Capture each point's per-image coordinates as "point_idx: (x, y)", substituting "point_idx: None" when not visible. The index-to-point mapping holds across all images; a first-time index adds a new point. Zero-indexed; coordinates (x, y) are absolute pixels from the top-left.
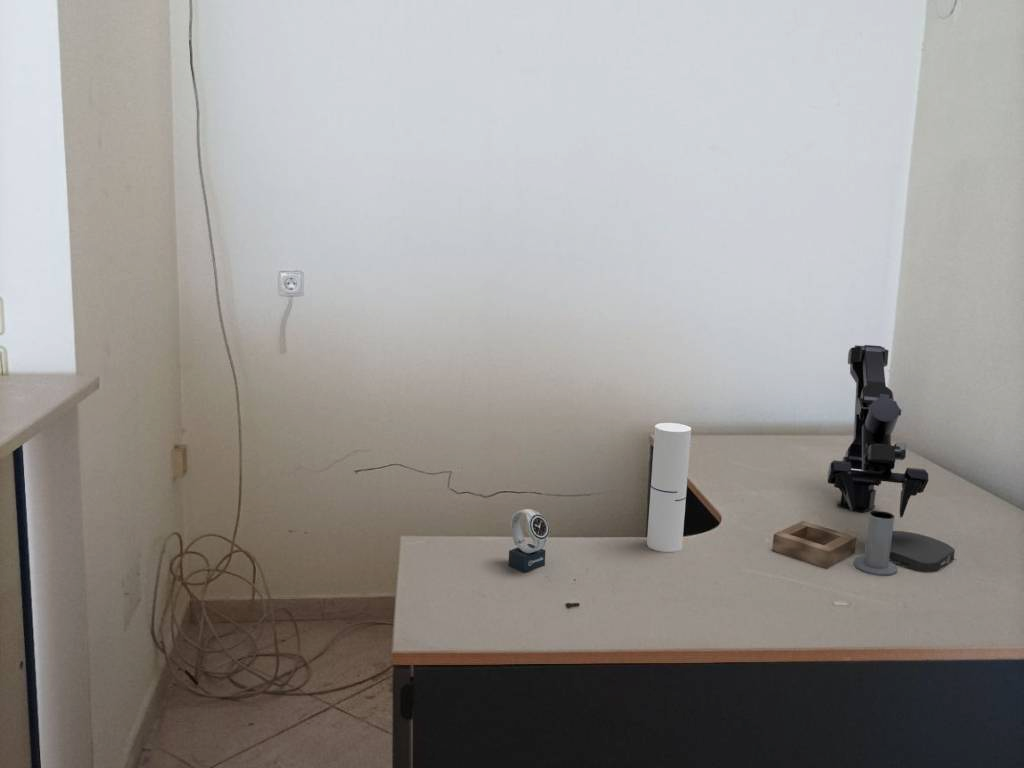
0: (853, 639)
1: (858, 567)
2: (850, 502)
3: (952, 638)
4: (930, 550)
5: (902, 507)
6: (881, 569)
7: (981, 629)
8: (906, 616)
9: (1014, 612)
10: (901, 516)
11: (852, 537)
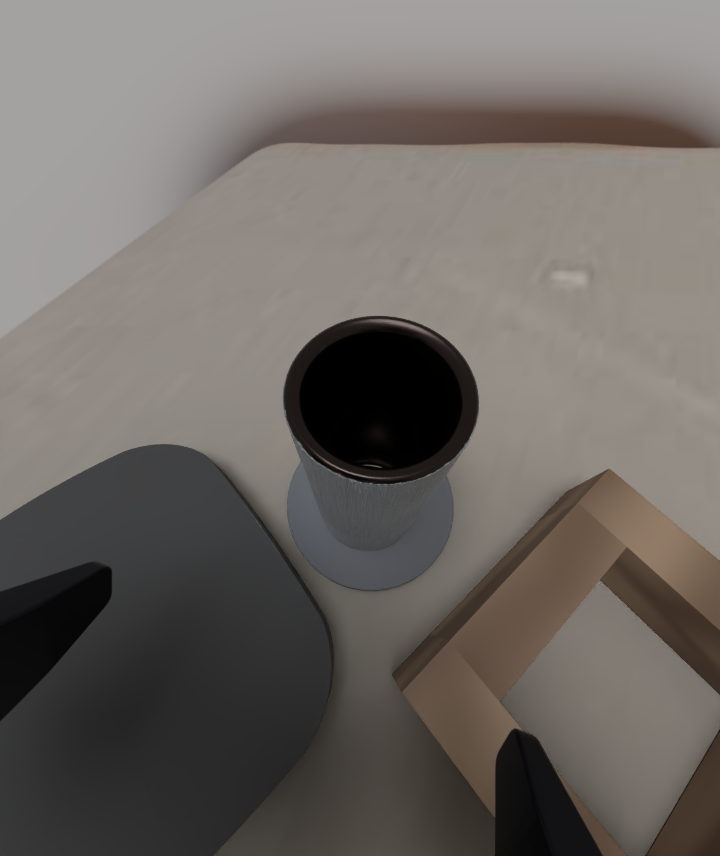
0: (573, 164)
1: (447, 481)
2: (593, 841)
3: (373, 162)
4: (63, 552)
5: (25, 602)
6: None
7: (287, 183)
8: (425, 225)
9: (143, 235)
10: (108, 576)
11: (434, 679)
